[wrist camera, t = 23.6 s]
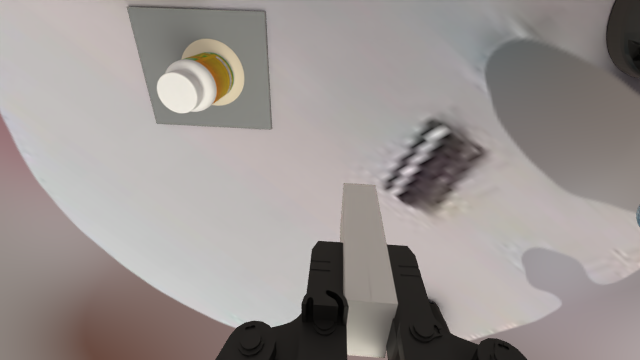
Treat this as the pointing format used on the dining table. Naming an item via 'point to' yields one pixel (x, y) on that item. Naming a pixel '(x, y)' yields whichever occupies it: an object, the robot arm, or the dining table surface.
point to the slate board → (208, 36)
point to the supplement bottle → (195, 82)
